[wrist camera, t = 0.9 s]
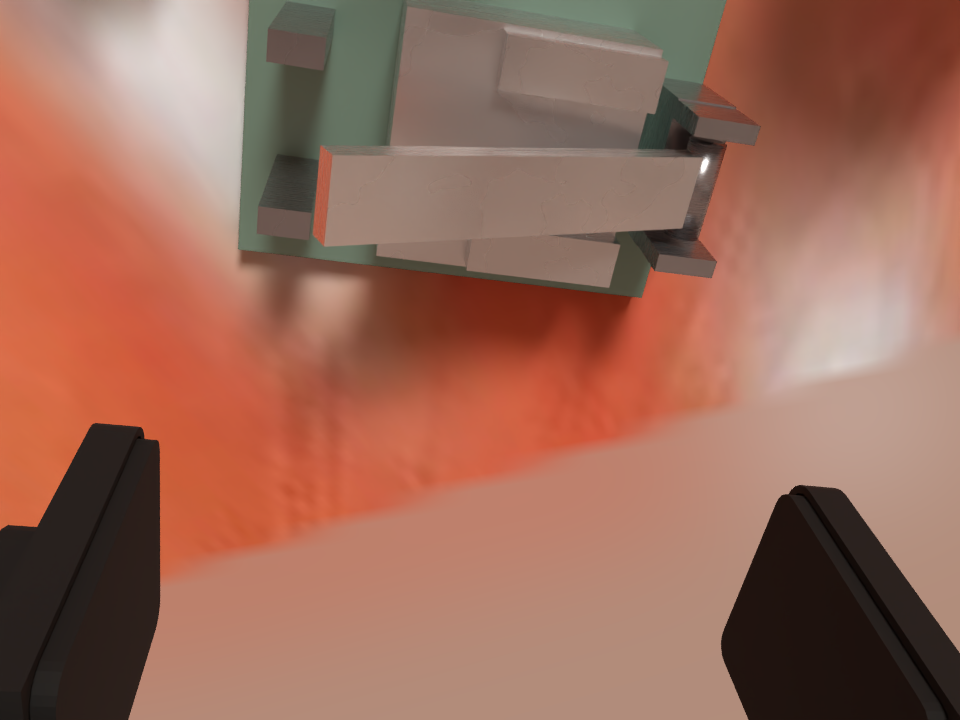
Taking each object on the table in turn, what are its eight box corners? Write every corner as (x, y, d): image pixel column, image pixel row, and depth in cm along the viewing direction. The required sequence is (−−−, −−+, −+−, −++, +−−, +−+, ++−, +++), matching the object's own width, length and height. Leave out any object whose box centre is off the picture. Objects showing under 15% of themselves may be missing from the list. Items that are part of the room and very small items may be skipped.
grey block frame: (714, 43, 31) (776, 78, 26) (654, 252, 35) (699, 317, 30) (288, -30, 29) (268, -8, 24) (273, 203, 33) (254, 264, 28)
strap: (708, 135, 29) (734, 147, 28) (681, 226, 31) (705, 240, 30) (319, 126, 22) (337, 141, 21) (308, 245, 24) (325, 264, 23)
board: (721, -20, 31) (731, -17, 30) (635, 287, 37) (641, 297, 36) (257, -107, 28) (254, -106, 28) (241, 239, 34) (238, 249, 33)
